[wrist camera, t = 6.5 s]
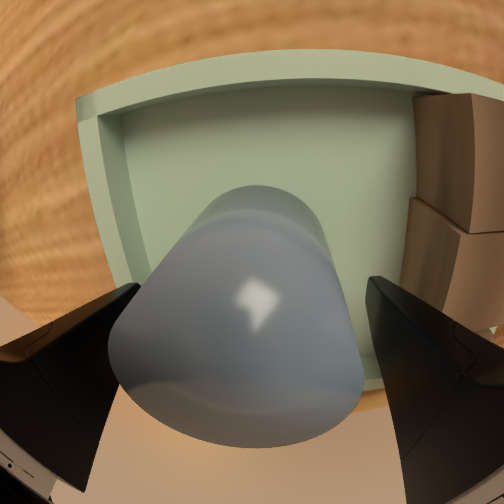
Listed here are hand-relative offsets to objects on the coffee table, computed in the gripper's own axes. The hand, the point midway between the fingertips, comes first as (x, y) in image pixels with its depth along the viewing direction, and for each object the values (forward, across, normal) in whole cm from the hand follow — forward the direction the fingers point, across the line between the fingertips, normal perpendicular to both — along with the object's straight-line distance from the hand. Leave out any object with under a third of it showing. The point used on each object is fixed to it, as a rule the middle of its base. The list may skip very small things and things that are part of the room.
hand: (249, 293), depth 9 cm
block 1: (+3, -9, -4) cm, 10 cm away
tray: (+4, -4, 0) cm, 5 cm away
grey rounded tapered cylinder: (+3, 0, 0) cm, 3 cm away
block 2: (+3, -8, 0) cm, 9 cm away
